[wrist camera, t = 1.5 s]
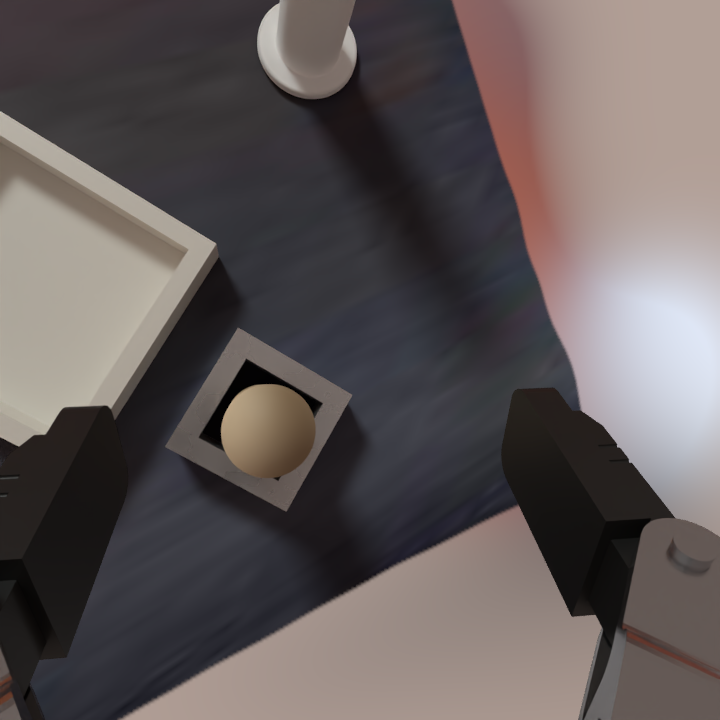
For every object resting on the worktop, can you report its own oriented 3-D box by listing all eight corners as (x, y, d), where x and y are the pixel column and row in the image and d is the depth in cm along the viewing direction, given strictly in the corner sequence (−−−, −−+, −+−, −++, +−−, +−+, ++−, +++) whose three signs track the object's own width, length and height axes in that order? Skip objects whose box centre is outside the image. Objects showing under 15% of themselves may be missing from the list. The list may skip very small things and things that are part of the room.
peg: (230, 452, 37) (224, 483, 25) (225, 387, 37) (217, 388, 25) (294, 445, 38) (319, 472, 26) (290, 381, 38) (311, 380, 26)
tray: (-163, 335, 32) (-211, 329, 29) (-5, 121, 34) (-32, 92, 31) (87, 464, 35) (70, 472, 31) (218, 256, 37) (216, 243, 34)
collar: (172, 440, 36) (164, 446, 32) (238, 332, 37) (238, 327, 34) (282, 500, 37) (286, 511, 34) (342, 394, 38) (352, 395, 35)
